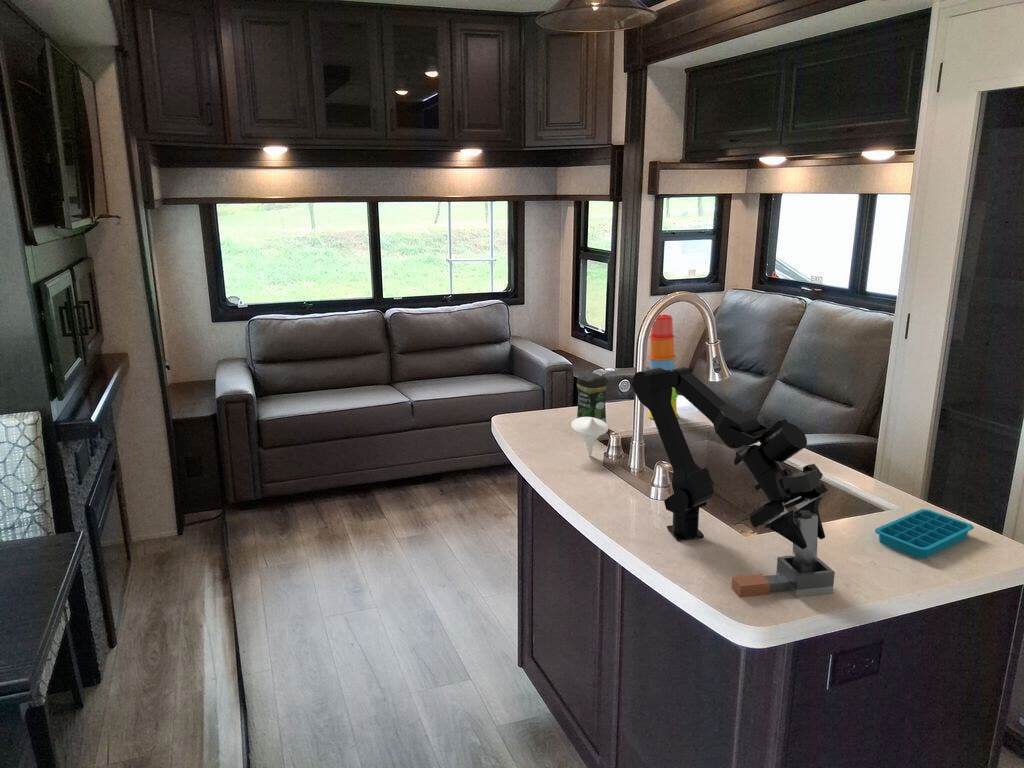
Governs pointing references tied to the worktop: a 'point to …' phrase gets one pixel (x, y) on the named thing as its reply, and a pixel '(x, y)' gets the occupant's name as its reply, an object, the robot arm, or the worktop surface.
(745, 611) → the worktop surface
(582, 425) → the white spinning top
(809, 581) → the saucepan
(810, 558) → the cylinder with cube top
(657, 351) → the stacking cups
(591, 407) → the coffee jar
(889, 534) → the ice cube tray
